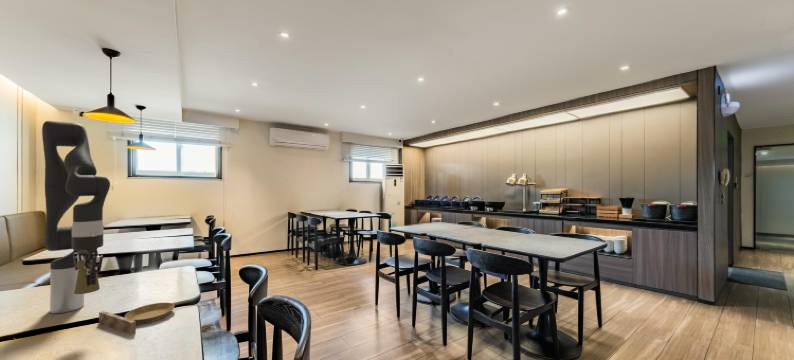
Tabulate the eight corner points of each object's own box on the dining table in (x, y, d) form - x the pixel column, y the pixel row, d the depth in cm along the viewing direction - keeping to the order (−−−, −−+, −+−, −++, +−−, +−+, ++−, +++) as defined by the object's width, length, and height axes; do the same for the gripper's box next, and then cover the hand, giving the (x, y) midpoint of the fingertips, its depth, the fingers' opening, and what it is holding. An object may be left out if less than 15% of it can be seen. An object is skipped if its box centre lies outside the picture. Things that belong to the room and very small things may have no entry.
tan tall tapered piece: (83, 295, 98) (83, 261, 98) (69, 293, 99) (69, 260, 99) (104, 288, 104) (104, 256, 104) (91, 286, 105) (91, 255, 105)
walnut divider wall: (99, 323, 109) (99, 312, 109) (103, 321, 110) (103, 310, 110) (131, 334, 102) (131, 322, 102) (135, 332, 103) (135, 321, 103)
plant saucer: (162, 324, 109) (162, 317, 109) (114, 328, 106) (114, 321, 106) (181, 307, 124) (181, 301, 124) (140, 310, 120) (140, 304, 120)
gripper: (62, 234, 101) (61, 284, 101) (84, 237, 95) (83, 291, 95) (91, 230, 108) (91, 278, 108) (113, 233, 102) (113, 283, 102)
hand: (87, 284), depth 102 cm, fingers closed on tan tall tapered piece, 4 cm apart
